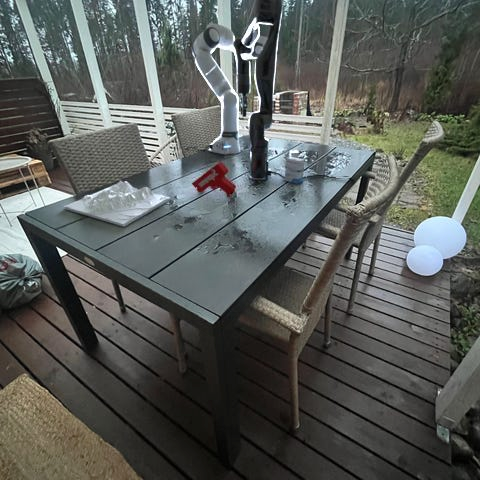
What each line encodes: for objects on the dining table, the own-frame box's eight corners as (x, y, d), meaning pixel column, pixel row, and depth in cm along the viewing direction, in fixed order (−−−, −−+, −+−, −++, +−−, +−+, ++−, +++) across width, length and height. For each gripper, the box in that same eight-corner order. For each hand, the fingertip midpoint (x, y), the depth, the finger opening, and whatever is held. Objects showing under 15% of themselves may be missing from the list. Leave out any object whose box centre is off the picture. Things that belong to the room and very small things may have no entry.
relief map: (124, 226, 104) (120, 214, 101) (64, 208, 117) (60, 197, 114) (169, 200, 124) (168, 189, 121) (115, 187, 137) (112, 177, 135)
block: (289, 157, 180) (289, 150, 177) (296, 157, 180) (297, 150, 178) (290, 159, 176) (291, 152, 174) (298, 159, 177) (298, 152, 174)
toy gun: (240, 187, 127) (221, 160, 123) (237, 190, 124) (218, 163, 120) (214, 205, 137) (195, 180, 133) (210, 208, 134) (191, 183, 130)
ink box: (302, 181, 142) (305, 159, 136) (297, 184, 139) (300, 161, 133) (289, 177, 147) (291, 156, 141) (284, 180, 144) (285, 158, 138)
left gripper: (256, 64, 204) (255, 85, 211) (260, 64, 187) (259, 87, 194) (264, 64, 204) (263, 85, 212) (269, 64, 187) (268, 86, 195)
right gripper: (252, 83, 142) (251, 117, 151) (248, 82, 154) (248, 113, 163) (238, 84, 141) (238, 117, 150) (235, 82, 153) (235, 114, 162)
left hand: (261, 86), depth 203 cm, fingers open, 8 cm apart
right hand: (243, 115), depth 156 cm, fingers open, 8 cm apart
